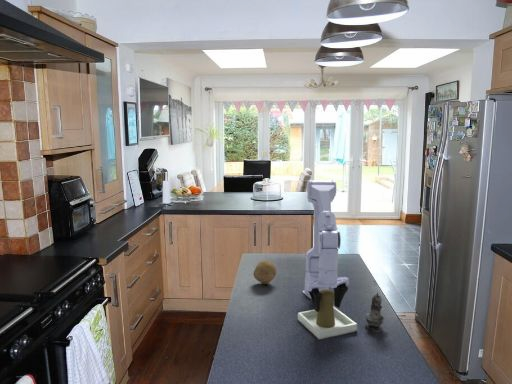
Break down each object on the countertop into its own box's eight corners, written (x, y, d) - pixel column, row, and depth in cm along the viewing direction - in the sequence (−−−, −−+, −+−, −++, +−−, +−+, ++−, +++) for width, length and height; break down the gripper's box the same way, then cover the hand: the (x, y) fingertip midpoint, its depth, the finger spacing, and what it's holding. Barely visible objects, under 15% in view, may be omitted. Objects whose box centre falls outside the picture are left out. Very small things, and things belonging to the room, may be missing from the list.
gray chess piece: (360, 323, 129) (364, 289, 126) (375, 321, 131) (379, 287, 128) (371, 333, 123) (375, 298, 121) (387, 330, 125) (391, 295, 123)
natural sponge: (278, 287, 158) (279, 263, 157) (257, 289, 156) (257, 265, 155) (273, 279, 167) (273, 256, 165) (252, 281, 165) (252, 257, 163)
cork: (312, 321, 130) (313, 289, 128) (326, 317, 133) (327, 285, 131) (324, 329, 125) (325, 296, 123) (339, 324, 128) (340, 292, 126)
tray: (297, 319, 132) (297, 312, 132) (332, 312, 138) (333, 305, 137) (319, 339, 120) (319, 332, 120) (356, 331, 125) (357, 323, 125)
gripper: (314, 275, 119) (313, 318, 122) (355, 268, 125) (353, 309, 127) (303, 267, 126) (302, 308, 128) (342, 261, 131) (340, 300, 133)
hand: (326, 308), depth 128 cm, fingers open, 7 cm apart
